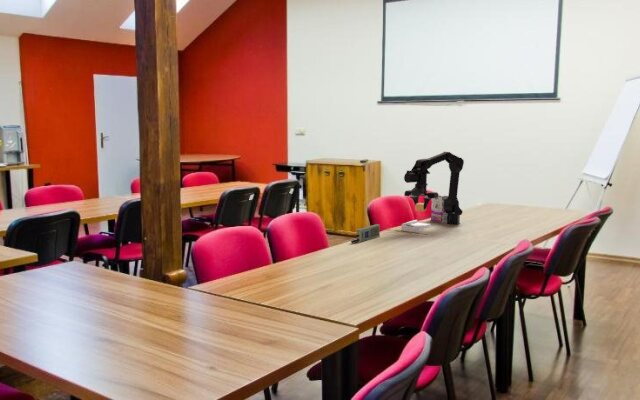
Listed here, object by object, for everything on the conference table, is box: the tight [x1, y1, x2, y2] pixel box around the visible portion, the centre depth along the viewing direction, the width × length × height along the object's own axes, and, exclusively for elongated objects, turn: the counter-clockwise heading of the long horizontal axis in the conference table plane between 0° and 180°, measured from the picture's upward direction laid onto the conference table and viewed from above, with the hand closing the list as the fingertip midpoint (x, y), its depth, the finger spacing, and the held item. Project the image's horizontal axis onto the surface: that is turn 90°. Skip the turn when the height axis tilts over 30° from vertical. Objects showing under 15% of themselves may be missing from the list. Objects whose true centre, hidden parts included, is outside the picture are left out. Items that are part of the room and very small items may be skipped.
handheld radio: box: [350, 223, 381, 244], centre depth 303 cm, size 7×3×25 cm
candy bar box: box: [430, 193, 448, 224], centre depth 357 cm, size 11×5×16 cm, turn 26°
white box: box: [401, 219, 431, 233], centre depth 334 cm, size 10×18×4 cm, turn 144°
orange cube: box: [414, 202, 427, 212], centre depth 336 cm, size 4×4×4 cm
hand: (420, 209), depth 336 cm, fingers closed on orange cube, 4 cm apart
